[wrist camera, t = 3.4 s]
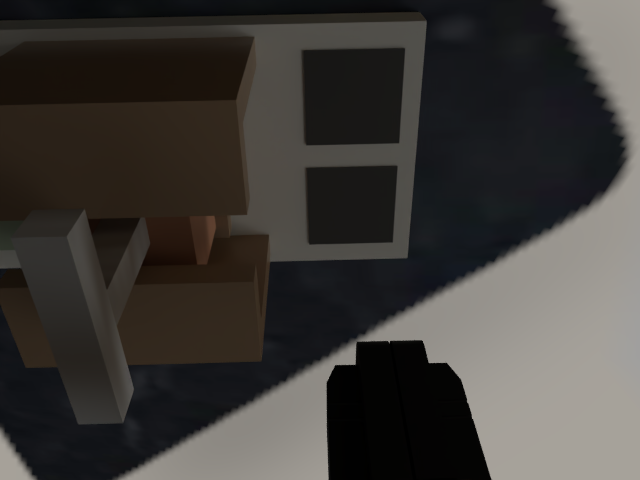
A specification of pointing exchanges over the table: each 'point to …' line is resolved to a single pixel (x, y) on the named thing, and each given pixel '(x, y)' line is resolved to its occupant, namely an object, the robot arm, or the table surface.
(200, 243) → the sled
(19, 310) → the tunnel
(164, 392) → the table surface
